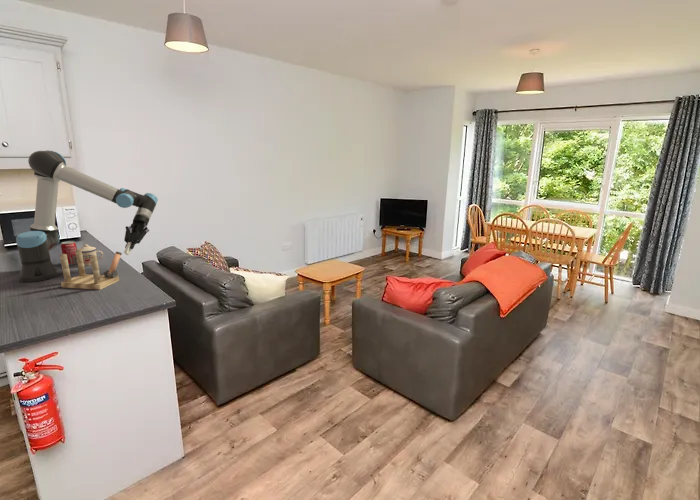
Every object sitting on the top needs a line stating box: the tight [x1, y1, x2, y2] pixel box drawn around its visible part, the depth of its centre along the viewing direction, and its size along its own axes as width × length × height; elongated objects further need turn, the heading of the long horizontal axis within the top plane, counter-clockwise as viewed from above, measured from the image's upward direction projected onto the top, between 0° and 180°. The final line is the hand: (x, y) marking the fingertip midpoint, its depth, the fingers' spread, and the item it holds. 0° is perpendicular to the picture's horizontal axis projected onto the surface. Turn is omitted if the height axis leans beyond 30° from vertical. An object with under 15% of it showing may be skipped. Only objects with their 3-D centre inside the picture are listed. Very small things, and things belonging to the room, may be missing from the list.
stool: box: [59, 248, 120, 290], centre depth 183 cm, size 20×13×16 cm, turn 85°
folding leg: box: [106, 251, 123, 277], centre depth 190 cm, size 3×3×13 cm
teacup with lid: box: [79, 243, 104, 267], centre depth 216 cm, size 12×9×12 cm
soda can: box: [60, 240, 78, 266], centre depth 214 cm, size 7×7×13 cm
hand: (126, 253), depth 198 cm, fingers closed
